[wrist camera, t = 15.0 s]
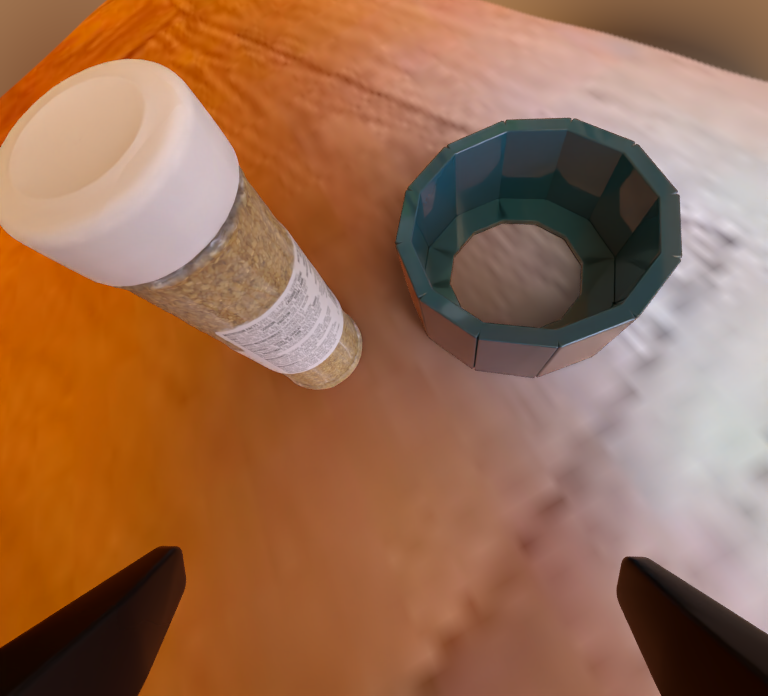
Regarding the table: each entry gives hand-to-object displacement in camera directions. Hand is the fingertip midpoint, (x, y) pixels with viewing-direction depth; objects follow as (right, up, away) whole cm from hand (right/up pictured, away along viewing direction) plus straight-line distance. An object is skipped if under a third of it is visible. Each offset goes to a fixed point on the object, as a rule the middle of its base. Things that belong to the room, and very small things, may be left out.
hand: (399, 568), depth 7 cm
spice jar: (-3, +4, +12) cm, 13 cm away
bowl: (+6, +8, +11) cm, 15 cm away
